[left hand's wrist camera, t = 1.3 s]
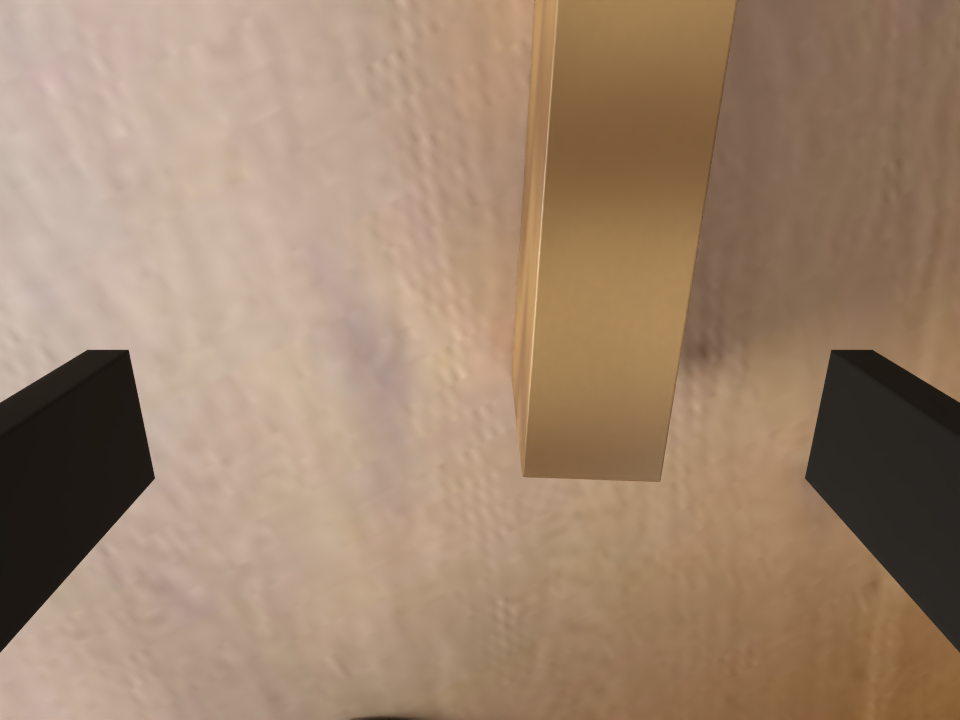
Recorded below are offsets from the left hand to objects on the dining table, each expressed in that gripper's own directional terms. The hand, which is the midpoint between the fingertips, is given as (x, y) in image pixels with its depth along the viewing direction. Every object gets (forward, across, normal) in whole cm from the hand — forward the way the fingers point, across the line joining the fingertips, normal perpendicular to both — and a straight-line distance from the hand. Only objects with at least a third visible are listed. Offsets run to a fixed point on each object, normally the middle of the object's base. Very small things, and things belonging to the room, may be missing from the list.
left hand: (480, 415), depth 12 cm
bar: (+18, -4, -5) cm, 19 cm away
